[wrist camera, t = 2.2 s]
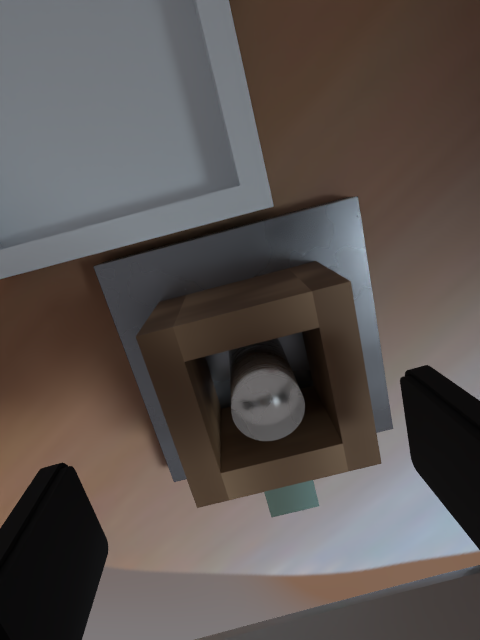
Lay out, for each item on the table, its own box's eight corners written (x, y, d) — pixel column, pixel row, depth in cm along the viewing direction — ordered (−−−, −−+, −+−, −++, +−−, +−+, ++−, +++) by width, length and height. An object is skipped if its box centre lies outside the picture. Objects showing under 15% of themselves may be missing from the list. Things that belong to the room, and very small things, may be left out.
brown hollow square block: (316, 261, 16) (350, 281, 11) (347, 423, 18) (385, 490, 14) (159, 301, 16) (135, 336, 12) (210, 456, 18) (206, 533, 14)
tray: (184, -158, 12) (175, -244, 10) (266, 206, 16) (273, 206, 14) (-151, -57, 13) (-237, -117, 10) (0, 277, 16) (-38, 289, 14)
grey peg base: (348, 197, 16) (416, 191, 10) (382, 415, 19) (449, 502, 14) (102, 262, 16) (38, 291, 11) (176, 465, 20) (158, 571, 14)
